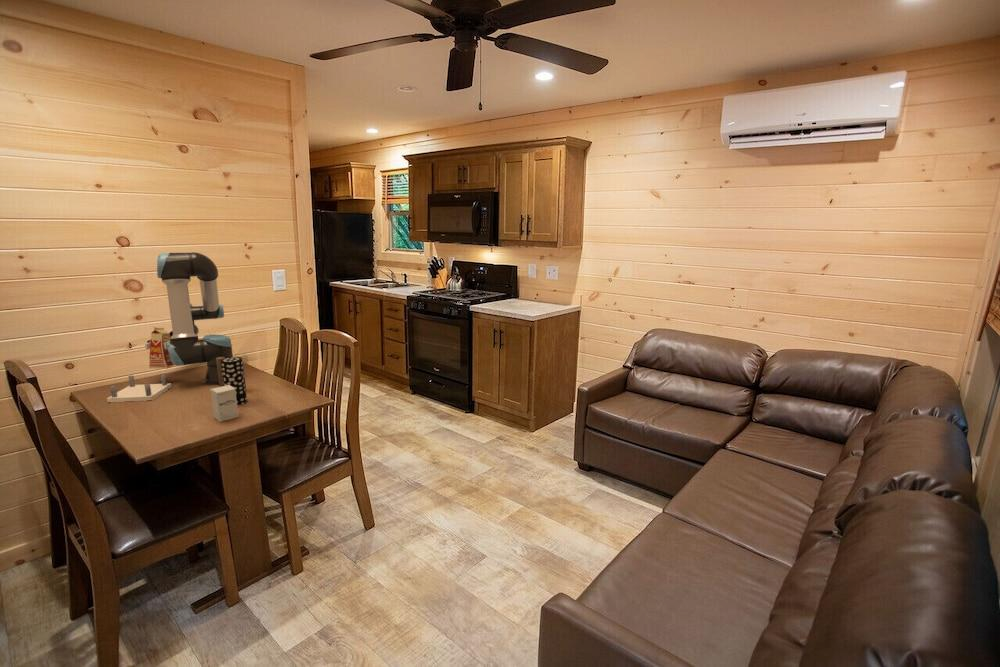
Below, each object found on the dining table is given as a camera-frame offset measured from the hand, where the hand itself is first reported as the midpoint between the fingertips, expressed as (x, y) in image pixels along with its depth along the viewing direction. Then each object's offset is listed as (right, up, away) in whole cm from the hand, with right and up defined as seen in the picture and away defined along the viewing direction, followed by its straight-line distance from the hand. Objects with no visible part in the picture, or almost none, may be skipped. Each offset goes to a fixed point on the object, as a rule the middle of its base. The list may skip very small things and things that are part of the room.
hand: (155, 346), depth 234 cm
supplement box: (+52, -29, -33) cm, 68 cm away
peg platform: (-1, -22, -8) cm, 24 cm away
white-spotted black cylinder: (+48, -25, -16) cm, 56 cm away
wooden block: (+40, -22, -5) cm, 46 cm away
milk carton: (-1, -10, +7) cm, 12 cm away
